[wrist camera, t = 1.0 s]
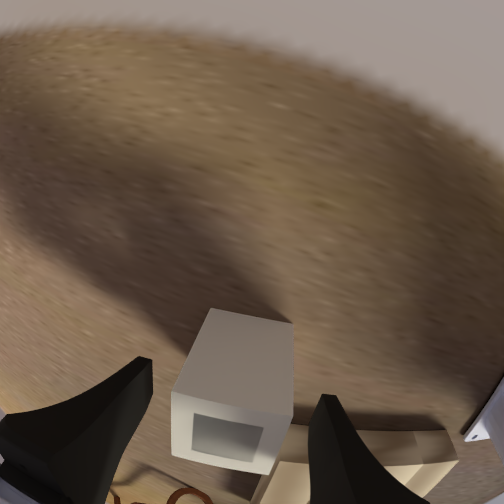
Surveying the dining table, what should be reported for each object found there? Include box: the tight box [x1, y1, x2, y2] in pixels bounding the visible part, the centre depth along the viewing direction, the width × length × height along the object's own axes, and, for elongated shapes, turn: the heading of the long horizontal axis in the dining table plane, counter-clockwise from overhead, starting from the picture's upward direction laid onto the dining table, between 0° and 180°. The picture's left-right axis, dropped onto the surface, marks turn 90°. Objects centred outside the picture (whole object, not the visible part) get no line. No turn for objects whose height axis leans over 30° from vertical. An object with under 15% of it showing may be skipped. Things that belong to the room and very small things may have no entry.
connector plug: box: [171, 308, 294, 475], centre depth 13 cm, size 4×4×6 cm
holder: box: [250, 424, 459, 504], centre depth 17 cm, size 12×12×3 cm
